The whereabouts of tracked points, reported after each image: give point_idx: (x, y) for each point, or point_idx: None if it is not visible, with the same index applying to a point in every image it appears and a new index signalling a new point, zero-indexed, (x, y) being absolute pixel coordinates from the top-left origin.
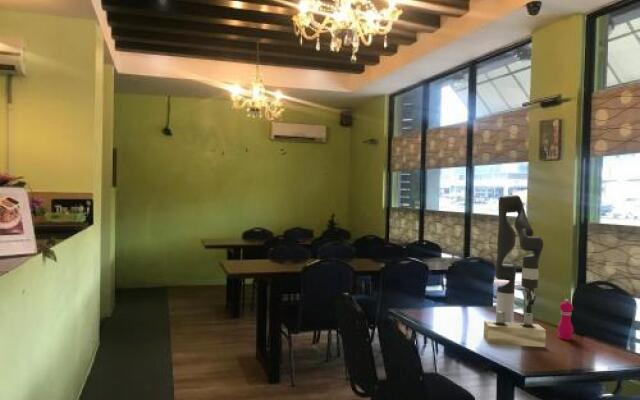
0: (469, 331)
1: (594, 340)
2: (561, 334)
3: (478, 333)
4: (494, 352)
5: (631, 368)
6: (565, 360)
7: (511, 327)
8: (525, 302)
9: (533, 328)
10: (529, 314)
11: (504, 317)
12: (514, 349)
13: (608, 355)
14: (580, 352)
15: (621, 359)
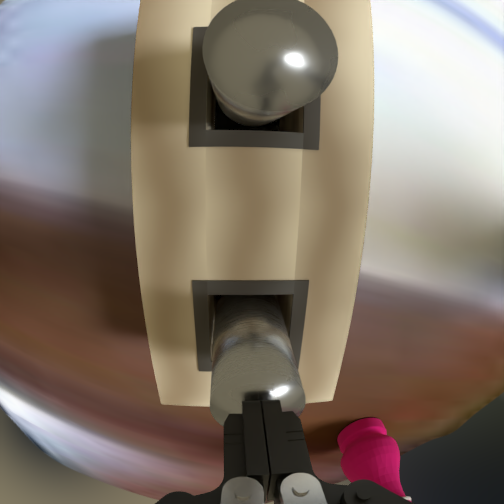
0: (415, 4)
1: (333, 481)
2: (359, 434)
3: (391, 32)
4: (10, 60)
5: (58, 460)
6: (16, 343)
7: (147, 167)
8: (343, 491)
9: (181, 349)
10: (227, 409)
11: (228, 104)
12: (71, 161)
13: (158, 475)
14: (153, 432)
15: (131, 480)
